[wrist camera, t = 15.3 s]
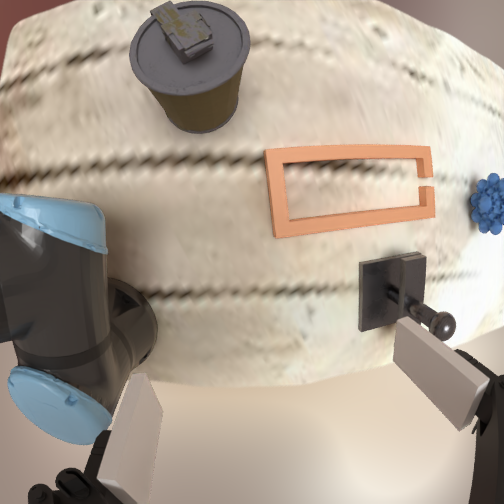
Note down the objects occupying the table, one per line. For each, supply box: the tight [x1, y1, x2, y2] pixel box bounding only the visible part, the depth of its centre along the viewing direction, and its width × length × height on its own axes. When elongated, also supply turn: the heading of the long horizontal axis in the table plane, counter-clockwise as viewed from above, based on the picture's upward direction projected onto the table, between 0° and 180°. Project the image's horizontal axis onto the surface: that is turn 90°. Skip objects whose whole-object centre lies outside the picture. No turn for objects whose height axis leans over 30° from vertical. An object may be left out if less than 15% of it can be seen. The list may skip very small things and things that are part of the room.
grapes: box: [471, 173, 504, 235], centre depth 37 cm, size 12×7×12 cm, turn 4°
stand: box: [359, 252, 456, 346], centre depth 37 cm, size 12×15×17 cm
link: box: [264, 145, 435, 238], centre depth 39 cm, size 28×12×2 cm, turn 97°
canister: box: [129, 1, 250, 133], centre depth 26 cm, size 11×10×20 cm
